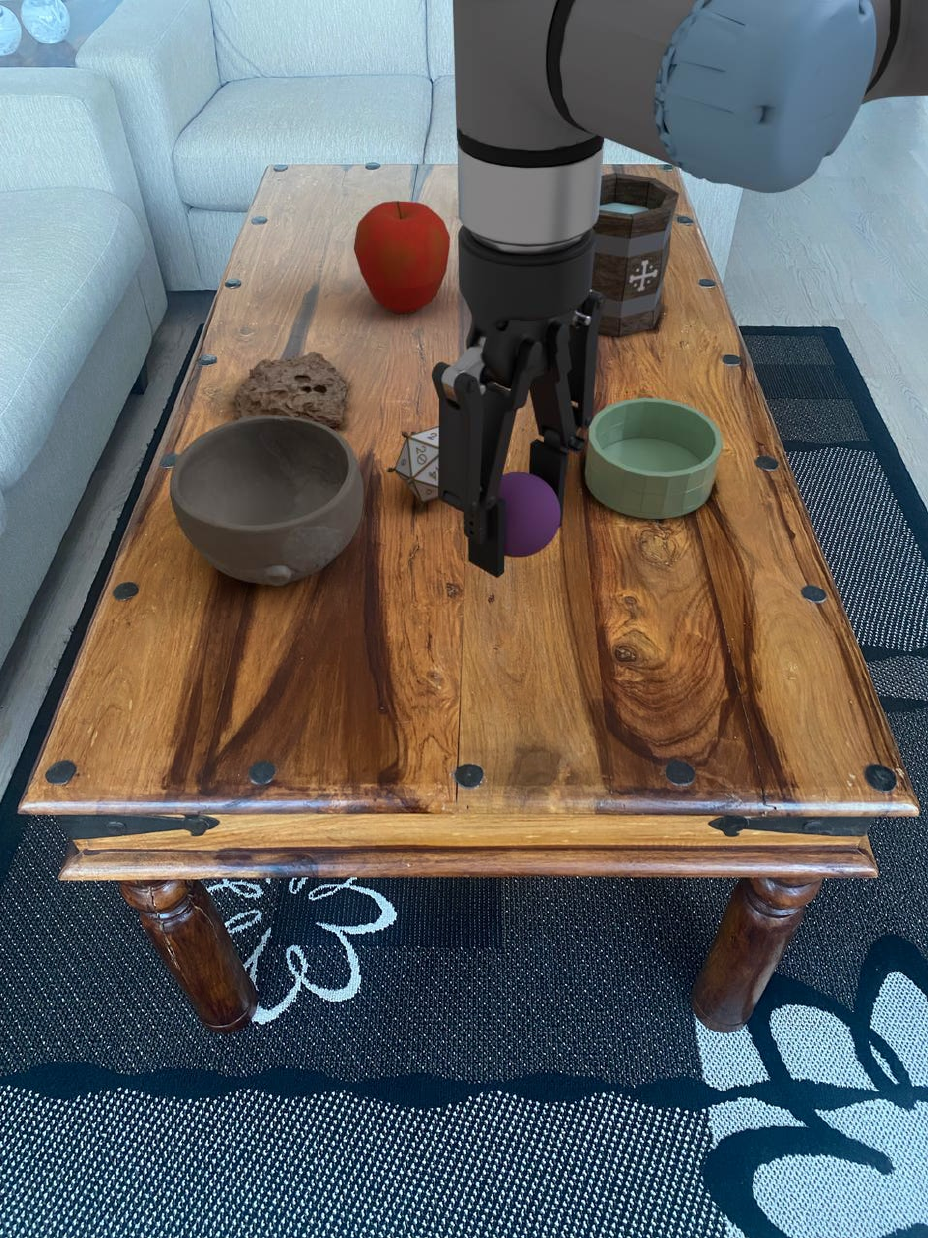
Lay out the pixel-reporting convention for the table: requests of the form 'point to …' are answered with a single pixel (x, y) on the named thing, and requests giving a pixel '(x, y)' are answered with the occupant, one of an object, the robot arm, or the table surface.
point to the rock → (294, 390)
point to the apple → (402, 254)
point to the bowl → (268, 497)
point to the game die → (420, 464)
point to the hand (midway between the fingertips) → (515, 542)
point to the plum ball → (528, 513)
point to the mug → (632, 251)
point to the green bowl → (652, 457)
